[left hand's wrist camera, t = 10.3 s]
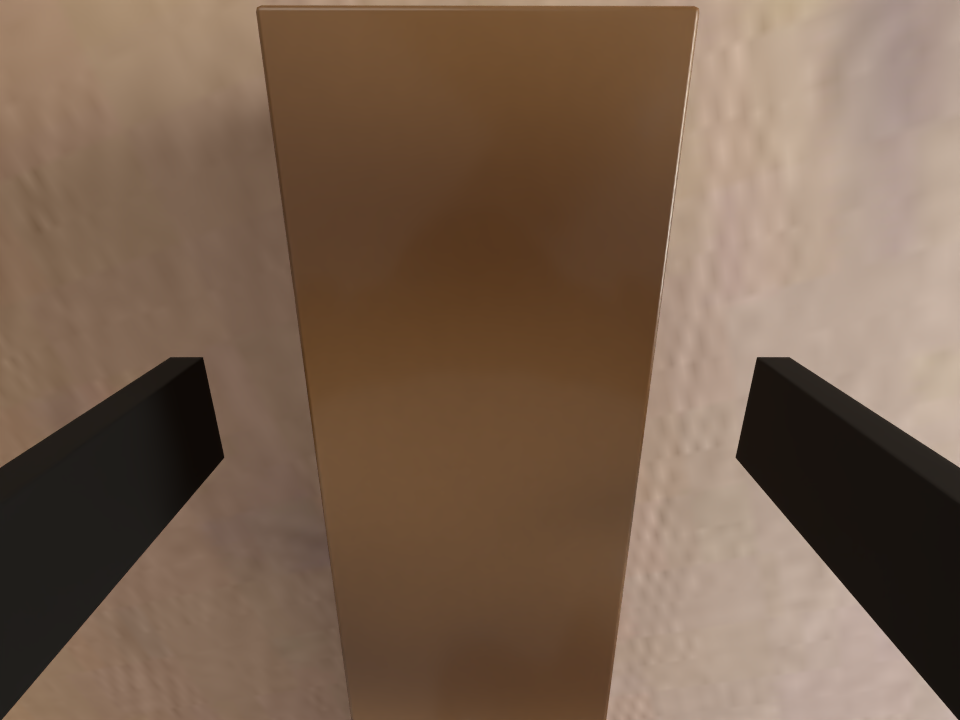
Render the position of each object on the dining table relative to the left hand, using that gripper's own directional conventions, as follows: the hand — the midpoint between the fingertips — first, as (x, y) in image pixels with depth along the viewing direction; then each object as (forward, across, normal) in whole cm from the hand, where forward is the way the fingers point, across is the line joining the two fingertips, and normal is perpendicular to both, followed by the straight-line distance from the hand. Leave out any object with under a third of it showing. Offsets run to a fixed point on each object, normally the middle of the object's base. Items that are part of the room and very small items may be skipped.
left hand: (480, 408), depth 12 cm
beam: (+4, 0, -22) cm, 22 cm away
